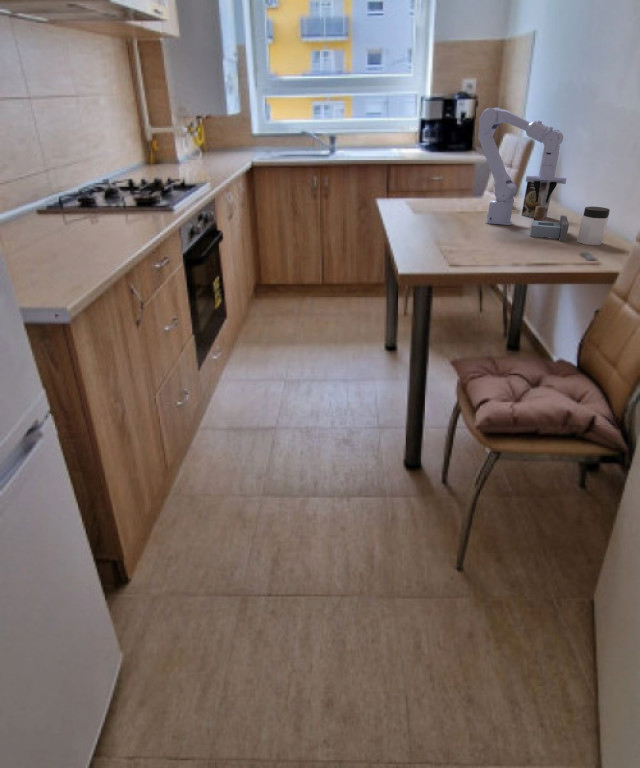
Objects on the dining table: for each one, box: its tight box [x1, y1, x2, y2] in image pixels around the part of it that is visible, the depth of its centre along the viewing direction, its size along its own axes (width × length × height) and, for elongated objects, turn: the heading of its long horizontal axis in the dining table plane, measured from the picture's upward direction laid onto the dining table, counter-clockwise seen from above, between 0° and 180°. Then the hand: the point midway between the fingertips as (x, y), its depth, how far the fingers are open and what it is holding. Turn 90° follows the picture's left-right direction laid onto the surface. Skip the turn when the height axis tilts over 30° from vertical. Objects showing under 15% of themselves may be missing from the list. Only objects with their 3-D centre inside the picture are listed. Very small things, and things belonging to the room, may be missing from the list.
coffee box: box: [520, 180, 552, 218], centre depth 246 cm, size 9×6×16 cm
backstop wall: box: [558, 214, 570, 242], centre depth 215 cm, size 2×18×6 cm, turn 162°
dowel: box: [533, 206, 546, 221], centre depth 227 cm, size 4×4×8 cm
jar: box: [576, 206, 611, 246], centre depth 205 cm, size 9×8×12 cm
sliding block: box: [529, 219, 561, 239], centre depth 217 cm, size 10×10×4 cm
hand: (541, 202), depth 224 cm, fingers open, 3 cm apart
